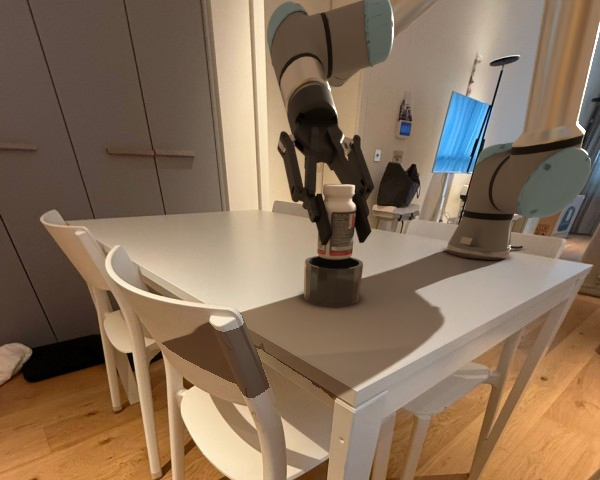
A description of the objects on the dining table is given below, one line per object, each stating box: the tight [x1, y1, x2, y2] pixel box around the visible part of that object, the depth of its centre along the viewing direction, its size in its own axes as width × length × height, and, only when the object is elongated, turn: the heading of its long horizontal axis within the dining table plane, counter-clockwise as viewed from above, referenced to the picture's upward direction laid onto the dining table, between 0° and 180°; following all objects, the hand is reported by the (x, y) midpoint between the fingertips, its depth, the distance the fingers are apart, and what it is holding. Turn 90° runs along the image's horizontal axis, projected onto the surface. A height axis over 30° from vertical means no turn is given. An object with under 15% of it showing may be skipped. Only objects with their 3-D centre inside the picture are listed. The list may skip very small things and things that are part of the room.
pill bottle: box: [317, 183, 356, 260], centre depth 52 cm, size 6×6×10 cm
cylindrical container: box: [303, 255, 364, 308], centre depth 57 cm, size 10×10×6 cm
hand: (346, 238), depth 50 cm, fingers closed on pill bottle, 6 cm apart
